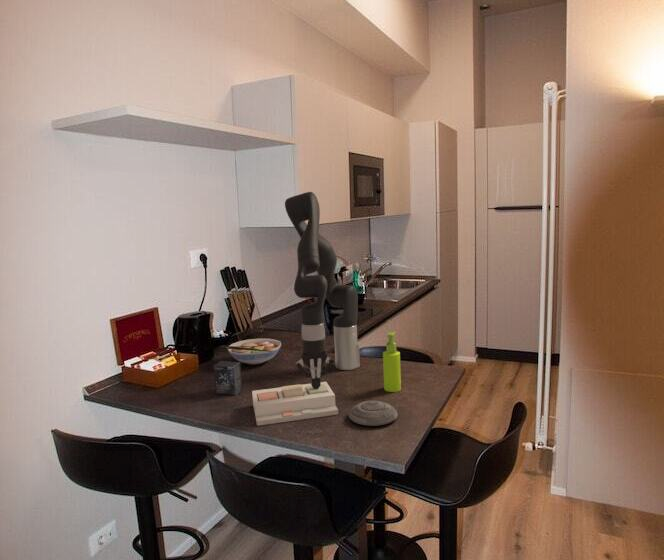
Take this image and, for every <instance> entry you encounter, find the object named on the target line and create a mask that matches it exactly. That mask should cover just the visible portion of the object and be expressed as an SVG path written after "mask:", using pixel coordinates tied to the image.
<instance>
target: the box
mask: <svg viewBox="0 0 664 560" xmlns="http://www.w3.org/2000/svg"><path fill="white" fill-rule="evenodd" d="M213 377H214V386H215V394H216V395H217V394H218V395H228V396H237V395H238V393H240V392H241V391H242V390H243V386H242V385H243V384H242V371H241V362H240V361H237V362H236V361H224V360H223V361H222V360H220V361H219V362H217V363H216V364H214V365H213Z"/></svg>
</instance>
